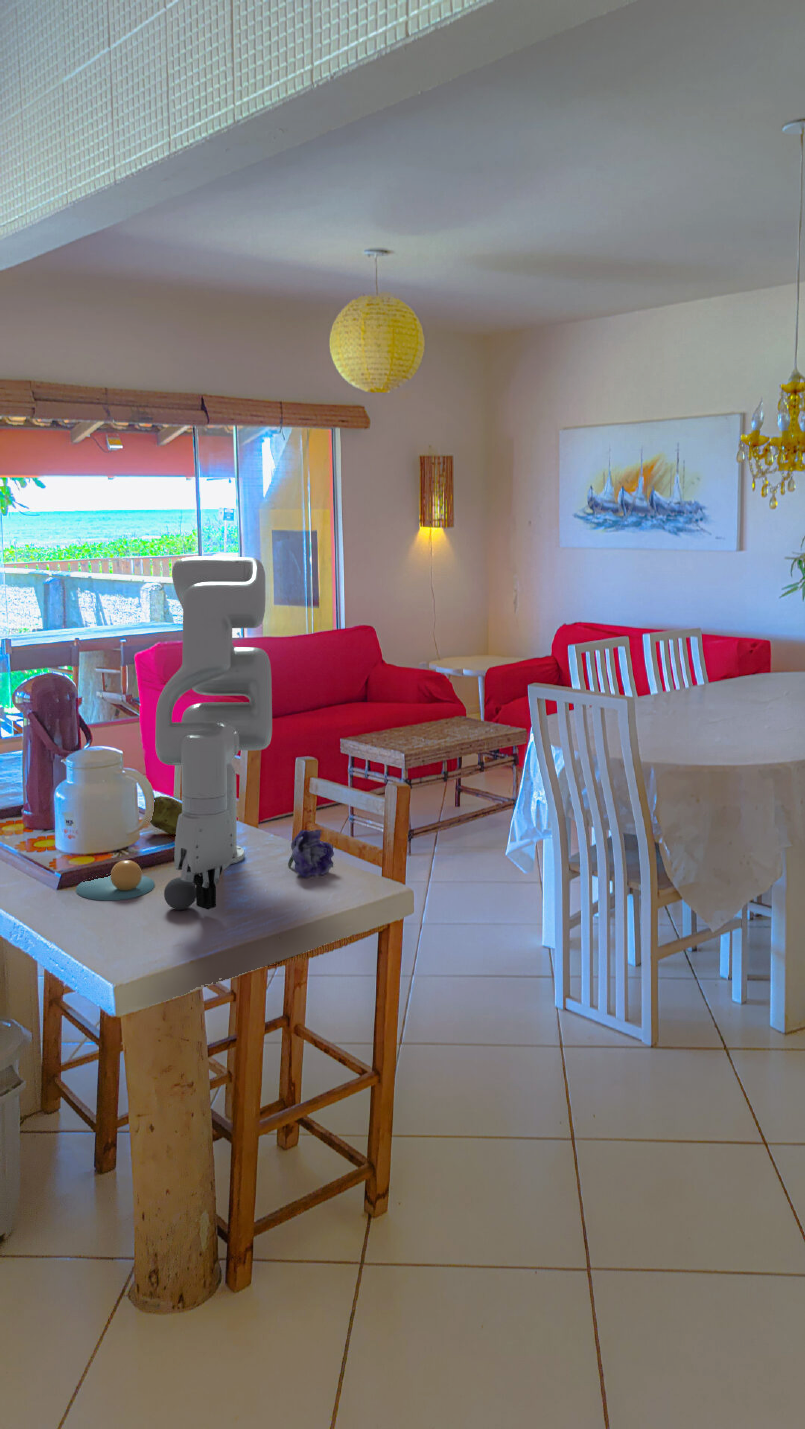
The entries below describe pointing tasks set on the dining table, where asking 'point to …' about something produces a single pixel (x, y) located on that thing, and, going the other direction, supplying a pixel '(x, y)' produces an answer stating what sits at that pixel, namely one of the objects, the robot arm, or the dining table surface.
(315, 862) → the flower
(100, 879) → the teal flat disc
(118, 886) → the object ball
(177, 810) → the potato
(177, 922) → the dining table surface
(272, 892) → the dining table surface
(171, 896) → the dark grey ball
